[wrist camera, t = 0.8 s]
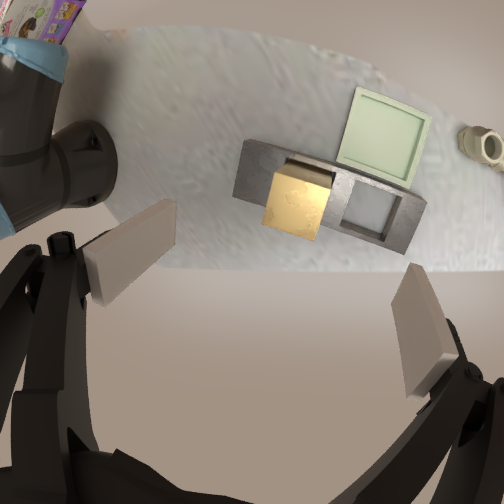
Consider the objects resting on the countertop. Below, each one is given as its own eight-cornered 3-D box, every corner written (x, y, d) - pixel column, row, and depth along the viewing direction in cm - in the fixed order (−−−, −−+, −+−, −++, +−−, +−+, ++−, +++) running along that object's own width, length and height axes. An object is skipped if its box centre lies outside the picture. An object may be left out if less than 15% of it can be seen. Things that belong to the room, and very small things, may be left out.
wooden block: (281, 196, 35) (261, 224, 26) (292, 158, 32) (274, 172, 24) (320, 209, 34) (313, 241, 25) (332, 171, 31) (330, 189, 23)
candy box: (76, -7, 26) (10, -16, 12) (88, 0, 27) (17, -10, 13) (44, 50, 33) (-21, 54, 19) (53, 60, 34) (-16, 65, 20)
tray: (336, 159, 31) (336, 161, 29) (355, 88, 26) (356, 86, 25) (405, 185, 29) (409, 189, 28) (426, 117, 25) (432, 116, 23)
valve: (446, 154, 26) (506, 204, 25) (468, 163, 20) (531, 220, 19) (465, 110, 23) (524, 164, 22) (489, 110, 17) (551, 174, 16)
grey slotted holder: (238, 191, 36) (232, 196, 34) (250, 139, 33) (244, 140, 30) (400, 246, 33) (404, 255, 30) (421, 197, 29) (427, 202, 27)
